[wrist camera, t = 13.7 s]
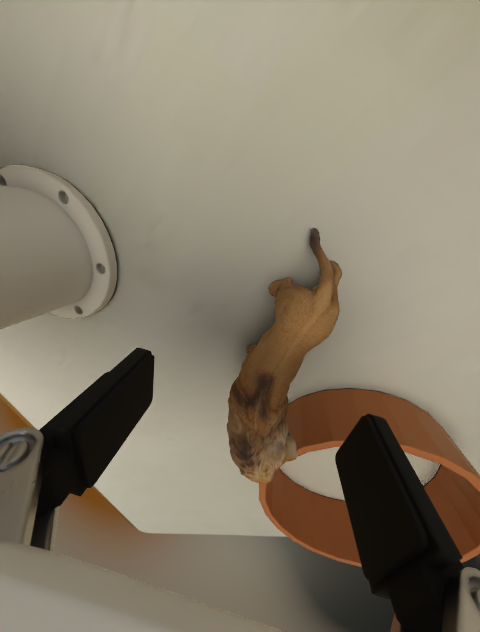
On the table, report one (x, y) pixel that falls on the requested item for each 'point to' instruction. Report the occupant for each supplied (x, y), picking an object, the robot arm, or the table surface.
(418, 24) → the table surface
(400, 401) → the basin
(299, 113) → the table surface
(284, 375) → the lion figurine
